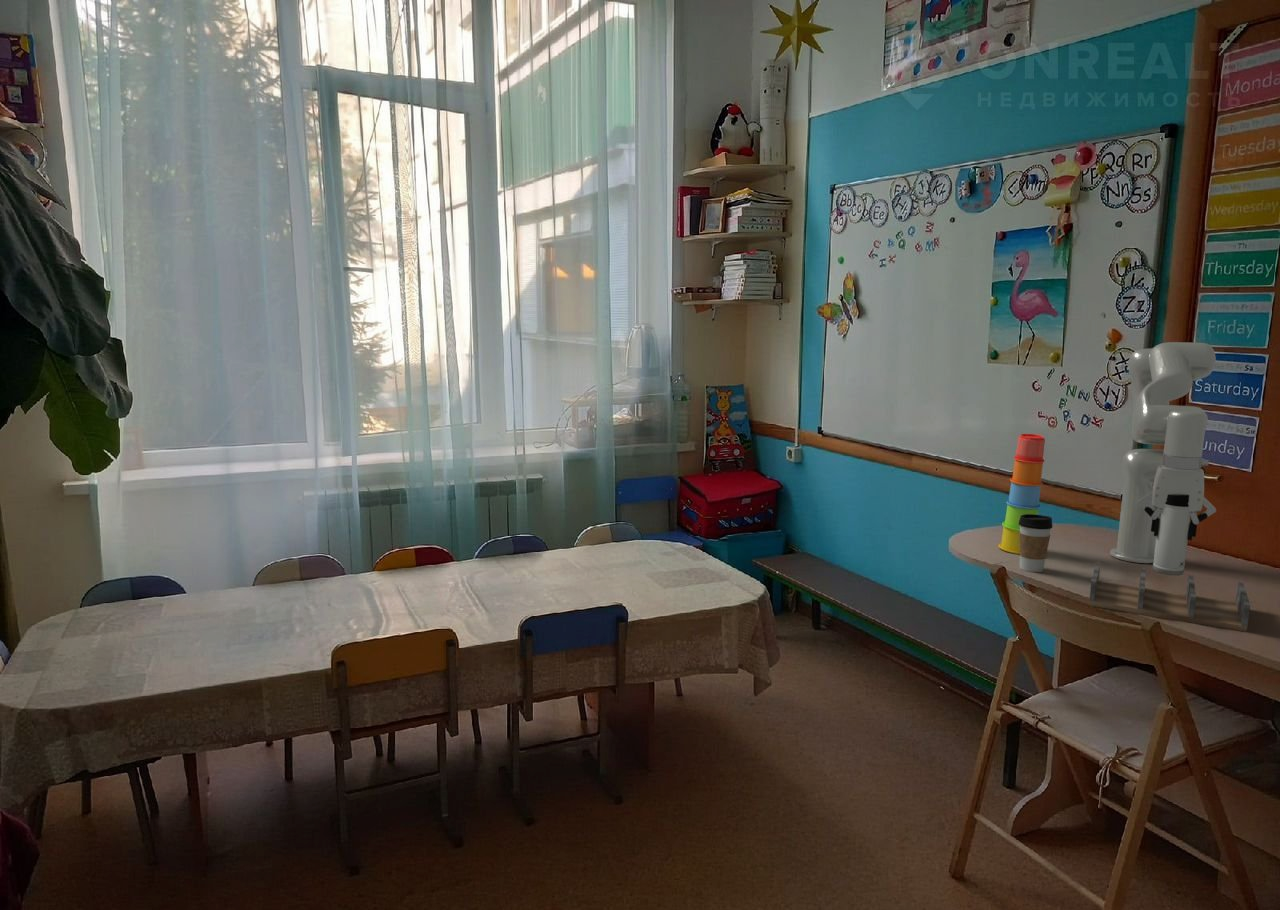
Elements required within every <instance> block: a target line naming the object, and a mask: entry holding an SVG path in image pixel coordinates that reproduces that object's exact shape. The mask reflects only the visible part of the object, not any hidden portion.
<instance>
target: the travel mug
mask: <svg viewBox="0 0 1280 910" xmlns="http://www.w3.org/2000/svg"><path fill="white" fill-rule="evenodd" d="M1166 500H1167V502H1166V503H1165V505H1164V506H1165V507H1164V509H1162V510H1161V513H1160V515H1159V526H1158V535H1157V538H1156V546H1155V554H1154V563H1152V570H1153V571H1155V572H1157V573H1159V574H1161V575H1165V576H1167V575H1168V576H1182V575H1183V574H1184V572H1185V565H1186V556H1187V551H1188V550H1187V549H1188V542H1189V540H1188V535H1189V527H1190V522H1191V520H1192V519H1191V516H1190V513H1191V512H1189V510H1188V509H1189V504H1188V503H1189V495H1168V496H1167V499H1166Z"/></svg>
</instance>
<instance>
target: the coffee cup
mask: <svg viewBox="0 0 1280 910" xmlns="http://www.w3.org/2000/svg"><path fill="white" fill-rule="evenodd" d="M1019 525H1020V531H1019V549H1020V554H1019V569H1021V570H1022V571H1024V572H1025V571H1026V572H1030V573H1031V572H1032V573H1042V572H1043V571H1044V570H1045V569H1044V568H1045V563H1046V559H1047V553H1048V549H1049V543H1050V538H1051V529H1052V528H1053V518H1052V516H1049V515H1048V516H1047V515H1042V514H1038V515H1034V514H1024V515H1021V517H1020V520H1019Z"/></svg>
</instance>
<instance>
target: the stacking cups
mask: <svg viewBox="0 0 1280 910" xmlns="http://www.w3.org/2000/svg"><path fill="white" fill-rule="evenodd" d="M1045 443H1046V440H1045V437H1044V436H1043V435H1040V434H1034V433H1021V434H1020V436H1018V440H1017V447H1016V453H1015V456H1013V459H1014V464H1013V470H1012V471H1013V473H1012V477H1011V478H1009V481H1010V488H1009V495H1008V500H1006V502H1005V503H1006V504H1007V506H1006V514H1005V520H1004V521H1003V522H1002V524H1001V525H1002V526H1003V527H1002V528H1003V530H1002V535H1001V542H1000V543H999V544H998V548H999V549H1001V551H1005V552H1007V553H1011V554H1017V555H1020V549H1019V531H1020V525H1019V520H1020V517H1021V515H1024V514H1034V515H1039V509H1040V508H1041V504H1040V496H1041V488H1042V485H1044V484H1043V482H1042V475H1043V474H1042V473H1043V465H1044V463H1045V459H1044V453H1045V445H1046V444H1045Z"/></svg>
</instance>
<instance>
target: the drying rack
mask: <svg viewBox="0 0 1280 910" xmlns="http://www.w3.org/2000/svg"><path fill="white" fill-rule="evenodd" d="M1101 564H1102V563H1101V562H1100V561H1099V562H1098V561H1096V562H1095V565H1094V569H1093V573H1092V578H1091V580H1090V581H1091V582H1090V592H1089V599H1088V600H1089V602H1088V606H1091V607H1097V608H1101V609H1109V610H1114V611H1119V612H1126V613H1132V614H1137V615H1144V616H1149V617H1155V618H1162V619H1168V620H1174V621H1180V622H1187V623H1191V624H1198V625H1204V626H1210V627H1216V628H1220V629H1221V628H1222V629H1227V630H1235V631H1240V632H1244V633H1245V632H1247V629H1248V624H1249V617H1250V611H1251V610H1250V609H1251V603H1250V600H1249V596H1248V593H1247V591H1246V588H1245V583H1244V582H1241V581H1238V582H1237V589H1236V595H1235V601H1232V600H1231V601H1230V600H1224V599H1219V598H1211V597H1206V596H1201V595H1200V596H1199V595H1197V593H1196V586H1195V585H1196V584H1195V578H1194V575H1191V574H1188V576H1187V585H1186V593H1179V592H1172V591H1166V590H1159V589H1154V588H1147V587H1146V575H1147V573H1146V572H1147V571H1146V570H1147V568H1142V567H1141V568H1140V575H1139V584H1138V585H1139V586H1133V585H1128V584H1127V585H1126V584H1120V583H1114V582H1113V583H1112V582H1106V581H1102V580H1101V581H1100V574H1101V573H1100V571H1101Z"/></svg>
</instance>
